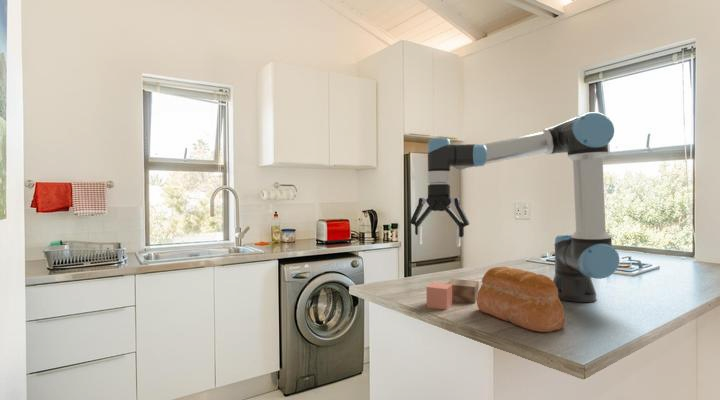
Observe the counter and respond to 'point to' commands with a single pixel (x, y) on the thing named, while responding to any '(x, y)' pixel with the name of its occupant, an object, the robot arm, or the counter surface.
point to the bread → (521, 299)
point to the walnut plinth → (464, 290)
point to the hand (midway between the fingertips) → (438, 245)
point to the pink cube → (439, 296)
